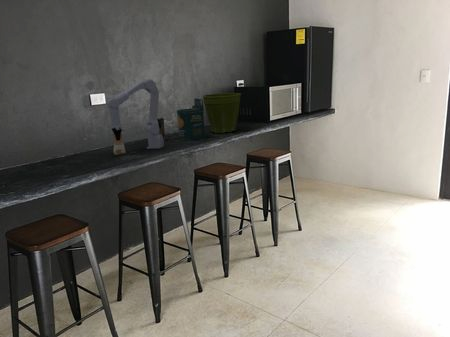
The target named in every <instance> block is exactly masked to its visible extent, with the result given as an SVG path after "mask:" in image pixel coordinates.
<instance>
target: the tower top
mask: <svg viewBox="0 0 450 337" xmlns="http://www.w3.org/2000/svg"><path fill="white" fill-rule="evenodd" d="M124 148H125V144H124V143H113V149H115V150H121V149H124Z"/></svg>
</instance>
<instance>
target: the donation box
mask: <svg viewBox="0 0 450 337" xmlns="http://www.w3.org/2000/svg"><path fill="white" fill-rule="evenodd" d="M193 101H194V105H192V106H191V108H182V109H177V110H176V115H177V125H178V126H177V127H178V140H180V141H185V142H191V141H198V139H199V140H205V139H204V138H206V134H205V118H204V113H205V112H204V108H205V107H204V100H203V98H202V99H201V98H197V97H196V98H195V97H194V99H193Z"/></svg>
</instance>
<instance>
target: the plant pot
mask: <svg viewBox="0 0 450 337" xmlns="http://www.w3.org/2000/svg"><path fill="white" fill-rule="evenodd" d="M241 96H242V93H239V92H229V93H228V92H225V93H224V92H221V93H212V94H204V95H202V100H203V105H204V108H205V112H206V116H207V119H208V120H207V121H208V123H209V126H210V129H211V132H212V133H213V132H214V134H226V133H225V132H229V133H233V132H232V131H234V132H236V130H237V123H238V117H239V113H240V112H239V111H240V102H241Z"/></svg>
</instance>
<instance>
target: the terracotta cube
mask: <svg viewBox="0 0 450 337" xmlns="http://www.w3.org/2000/svg"><path fill="white" fill-rule="evenodd" d="M113 141H114V144H119V143H123V135H122V134H121V138H120V140H119V141H117V140H116V137H115V134H114V133H113ZM123 144H124V143H123Z"/></svg>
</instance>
